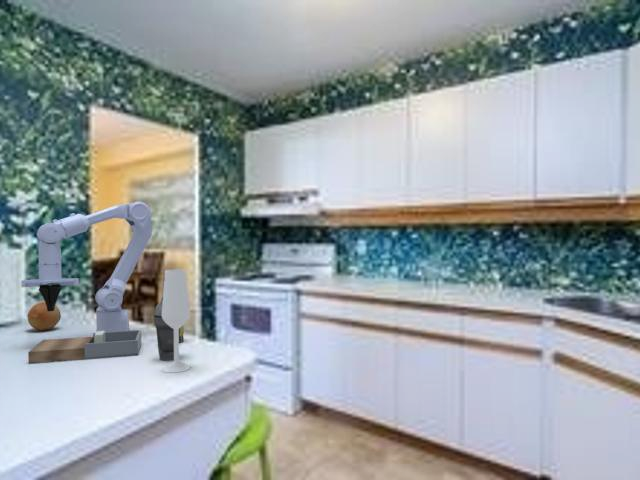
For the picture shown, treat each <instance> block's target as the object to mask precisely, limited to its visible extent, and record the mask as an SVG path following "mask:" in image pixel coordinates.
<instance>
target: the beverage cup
mask: <svg viewBox="0 0 640 480" xmlns="http://www.w3.org/2000/svg"><path fill="white" fill-rule="evenodd" d="M162 289H163V291H164V282H162ZM163 291H162V292H163ZM162 303H163V301H161V300H160V301H159V302H158V304H157V305H156V306H155V309H154V312H153V320H154V324H155V331H156V339H157V349H158V357H159V360H160V361H163V362H166V361H168V362H169V361H174V329H173V328H171V327H170V326H168V325H167V324H166V323H165V322H164V320H163V319H162V316H161V315H162ZM179 333H180V328H179Z"/></svg>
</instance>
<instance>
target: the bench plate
mask: <svg viewBox="0 0 640 480" xmlns="http://www.w3.org/2000/svg"><path fill="white" fill-rule="evenodd" d="M87 343H93V336H80V337H79V336H78V337H65V338H51V339H43V340H41V341H40V342H38V344H36V345H35V346H34V347H33V348H31V349H30V350H29V351H28V352H27V353H28V355H27V356H28V357H27V358H28V365H30V364H42V363H43V364H44V363H53V362H54V363H55V361H57V362H67V361H66V360H70V361H78V360H79V361H82V360H86V359H85V344H87Z"/></svg>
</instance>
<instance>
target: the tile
mask: <svg viewBox="0 0 640 480" xmlns="http://www.w3.org/2000/svg"><path fill="white" fill-rule="evenodd" d="M95 333H96V334H95V335H94V343H101V342H106V339H105V331H97V330H96V332H95Z"/></svg>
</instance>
